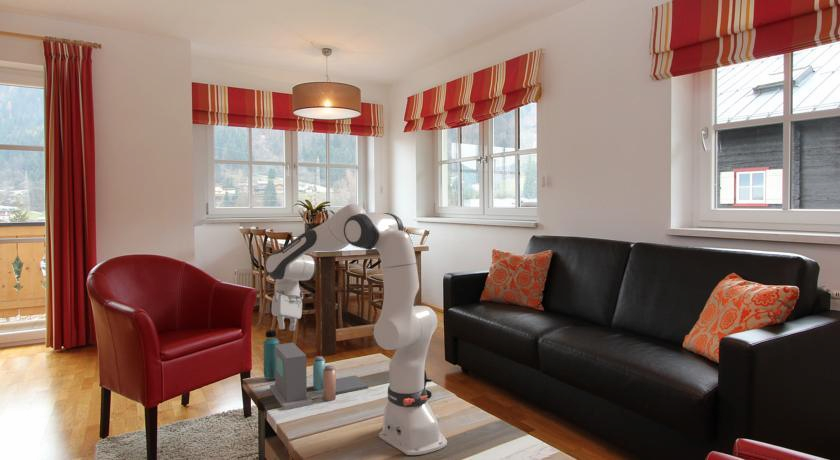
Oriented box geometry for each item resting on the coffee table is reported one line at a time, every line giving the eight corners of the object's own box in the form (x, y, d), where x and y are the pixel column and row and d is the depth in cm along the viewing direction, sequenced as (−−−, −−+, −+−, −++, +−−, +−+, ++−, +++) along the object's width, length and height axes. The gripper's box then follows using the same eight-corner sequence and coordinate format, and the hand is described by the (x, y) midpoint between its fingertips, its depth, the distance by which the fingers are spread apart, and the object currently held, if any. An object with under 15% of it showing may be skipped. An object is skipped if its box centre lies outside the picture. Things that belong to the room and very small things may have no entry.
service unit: (312, 404, 177) (312, 356, 176) (284, 410, 172) (283, 360, 171) (295, 384, 196) (295, 340, 195) (269, 388, 191) (269, 344, 190)
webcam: (414, 391, 190) (414, 365, 189) (433, 393, 188) (433, 367, 188) (409, 399, 182) (409, 372, 182) (429, 401, 181) (429, 374, 180)
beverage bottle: (277, 382, 198) (277, 333, 197) (261, 382, 198) (260, 332, 197) (282, 376, 205) (281, 328, 203) (266, 376, 205) (265, 328, 204)
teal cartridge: (326, 388, 192) (326, 358, 191) (315, 390, 190) (315, 360, 189) (322, 384, 196) (322, 355, 195) (311, 386, 194) (311, 356, 193)
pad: (368, 388, 193) (368, 385, 192) (336, 394, 186) (336, 391, 186) (355, 377, 204) (355, 375, 204) (325, 383, 197) (325, 380, 197)
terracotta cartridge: (337, 399, 181) (337, 367, 181) (325, 402, 179) (325, 369, 178) (333, 395, 185) (333, 363, 185) (321, 397, 183) (321, 365, 182)
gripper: (283, 288, 176) (283, 327, 173) (304, 295, 196) (305, 330, 192) (267, 289, 177) (266, 329, 173) (289, 296, 197) (289, 331, 193)
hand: (287, 329), depth 183 cm, fingers open, 8 cm apart
